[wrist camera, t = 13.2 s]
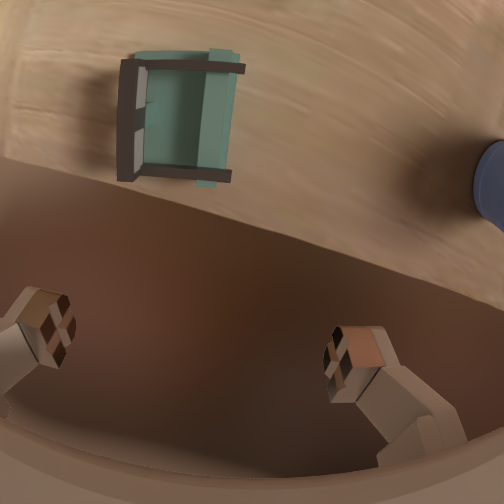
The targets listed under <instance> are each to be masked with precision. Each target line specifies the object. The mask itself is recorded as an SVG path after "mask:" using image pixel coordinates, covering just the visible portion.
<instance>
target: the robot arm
mask: <svg viewBox="0 0 504 504" xmlns="http://www.w3.org/2000/svg"><path fill="white" fill-rule="evenodd" d="M69 307H70V301H69V298H68V296H66V295H64V294H60V293H56V292H52V291H48V290H44V289H39V288H35V287H31V286H29V287H27V288H25V289H24V291H23V292H22V294H21V295H20V296H19V297H18V299H17V300H16V301H15V302H14V304H13V305H12V307H11V308H10V309H9V311H8V312H7V313H6V315H5V316H4V318H0V504H504V427H502V428H500V429H497V430H495V431H493V432H491V433H488V434H486V435H484V436H481V437H479V438H476V439H474V440H471V441H469V442H468V441H467V438H466V436H465V433H464V430H463V428H462V425H461V423H460V420H459V417H458V415H457V412H456V410H455V408H454V407H453V406H452V405H451V404H449V403H448V402H447V401H446V400H445V399H443V398H442V397H441V396H440V395H439V394H437V393H436V392H435V391H434V390H433V389H431V388H430V387H429V386H428V385H427V384H426V383H424V382H423V381H422V380H421V379H420V378H418V377H417V376H416V375H415V374H413V373H412V372H411V371H410V370H409V369H408V368H406V367H405V366H400V364H399V361H398V359H397V356H396V354H395V352H394V349H393V347H392V345H391V342H390V340H389V338H388V335H387V333H386V331H385V329H384V328H383V327H381V326H368V327H365V326H337V327H336V328H335V329H334V331H333V333H332V338H333V341H332V342H330V343H329V344H328V345H327V346H326V349H325V351H324V357H323V368H324V373H325V374H326V375H327V376H328V377H329V378H330V381H329V382H328V384H327V388H328V392H329V397H330V402H331V403H349V402H356V405H357V406H358V407H359V408H360V409H361V410H362V412H363V413H364V414H365V415H366V416H367V418H368V419H369V420H370V421H371V422H372V424H373V425H374V426H375V427H376V428H377V429H378V431H379V432H380V433H381V434H382V435H383V437H384V438H385V439H386V440H387V441H388V443H389V445H387V446H386V447H385V448H384V449H382V450H381V451H380V452H379V453H378V454H377V460H378V464H379V468H374V469H368V470H362V471H356V472H349V473H342V474H334V475H325V476H314V477H301V478H276V479H275V478H274V479H253V478H250V479H249V478H229V477H215V476H203V475H193V474H186V473H179V472H172V471H166V470H160V469H155V468H150V467H144V466H140V465H135V464H131V463H127V462H122V461H118V460H114V459H111V458H107V457H104V456H100V455H97V454H93V453H90V452H87V451H84V450H80V449H78V448H74V447H72V446H69V445H66V444H63V443H61V442H58V441H55V440H52V439H50V438H48V437H45V436H43V435H40V434H38V433H36V432H33V431H31V430H29V429H27V428H24V427H22V426H20V425H18V424H16V423H14V422H12V421H10V420H8V419H7V417H8V414H9V411H10V409H11V408H10V405H9V403H8V402H7V401H6V400H5V399H4V397H3V396H2V395H3V394H4V393H5V392H7V391H8V390H9V389H10V388H11V387H12V386H14V385H15V384H16V383H17V382H18V381H20V380H21V379H22V378H23V377H24V376H25V375H27V374H28V373H29V372H30V371H31V370H33V369H34V368H35V367H36V366H37V365H38V363H39V364H43V365H46V366H50V367H54V368H57V369H59V368H60V366H61V364H62V362H63V360H64V357H65V356H66V349H65V347H66V346H68V345H69V344H70V343H72V341H73V339H74V337H75V332H76V320H75V317H74V315H73V313H72V312H70V310H69V309H68V308H69Z"/></svg>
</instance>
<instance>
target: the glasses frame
mask: <svg viewBox="0 0 504 504" xmlns="http://www.w3.org/2000/svg"><path fill="white" fill-rule="evenodd" d="M245 67H246V64H243V63H233V62H222V61H207V60H178V59H158V60H144V59H139V58H138V59H121V65H120V76H119V89H118V106H117V143H116V155H117V181H121V182H133V181H134V180H136V179H137V178H138V177H139V176H140V175H141V176H156V177H170V178H182V179H194V180H204V181H215V182H224V183H230V182H231V174H232V170H229V169H219V168H209V167H198V166H187V165H174V164H159V163H144V135H145V115H146V100H147V87H148V76H149V70H191V71H210V72H223V73H234V74H245Z"/></svg>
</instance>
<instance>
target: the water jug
mask: <svg viewBox="0 0 504 504" xmlns="http://www.w3.org/2000/svg"><path fill="white" fill-rule="evenodd" d="M473 195H474V201H475V204H476V207H477V209H478V211H479V212H480V214H481V215H482V216H483V217H484V218H486V219H487V220H488V221H490V222H491V223H493V224H494V225H495V226H497V227H498V228H499V229H500V230H501V231H502V232H504V141H499V142H496V143H494V144H493V145H491V146H490V147H489V148H488V149H487V150H486V151H485V153H484V154H483V156H482V157H481V159H480V161H479V163H478V166H477V168H476V172H475V176H474V183H473Z"/></svg>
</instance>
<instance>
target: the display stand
mask: <svg viewBox="0 0 504 504" xmlns="http://www.w3.org/2000/svg"><path fill="white" fill-rule="evenodd" d="M138 58H139V59H144V60H158V59H178V60H207V61H222V62H233V63H239V58H240V54H233V52H232V50H224V49H210V52H205V51H141V52H135V58H134V59H138ZM236 80H237V74H234V73H223V72H210V71H191V70H149V76H148V87H147V100H146V115H145V135H144V163H159V164H174V165H187V166H198V167H209V168H219V169H226V160H227V151H228V142H229V134H230V126H231V118H232V110H233V102H234V94H235V87H236ZM216 184H217V182H215V181H204V180H196V187H207V188H215V187H216Z"/></svg>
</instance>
